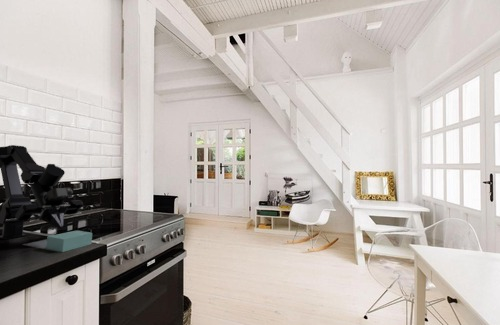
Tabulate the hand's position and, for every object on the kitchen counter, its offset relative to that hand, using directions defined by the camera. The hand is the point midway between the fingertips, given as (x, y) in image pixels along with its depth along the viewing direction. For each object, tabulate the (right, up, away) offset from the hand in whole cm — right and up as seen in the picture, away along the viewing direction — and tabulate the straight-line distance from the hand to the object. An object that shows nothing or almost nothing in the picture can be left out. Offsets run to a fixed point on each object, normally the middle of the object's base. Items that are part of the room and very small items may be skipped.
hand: (61, 227), depth 81 cm
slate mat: (-2, -7, +1) cm, 7 cm away
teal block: (0, -4, 0) cm, 4 cm away
